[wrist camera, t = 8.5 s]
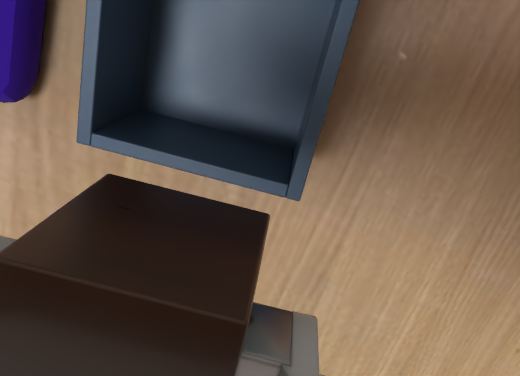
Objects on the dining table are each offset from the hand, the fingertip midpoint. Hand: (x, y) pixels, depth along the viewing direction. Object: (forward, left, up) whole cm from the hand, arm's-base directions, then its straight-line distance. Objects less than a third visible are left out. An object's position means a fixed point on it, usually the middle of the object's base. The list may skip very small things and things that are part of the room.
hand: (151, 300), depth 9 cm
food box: (-5, -3, -22) cm, 22 cm away
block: (0, 0, -2) cm, 2 cm away
